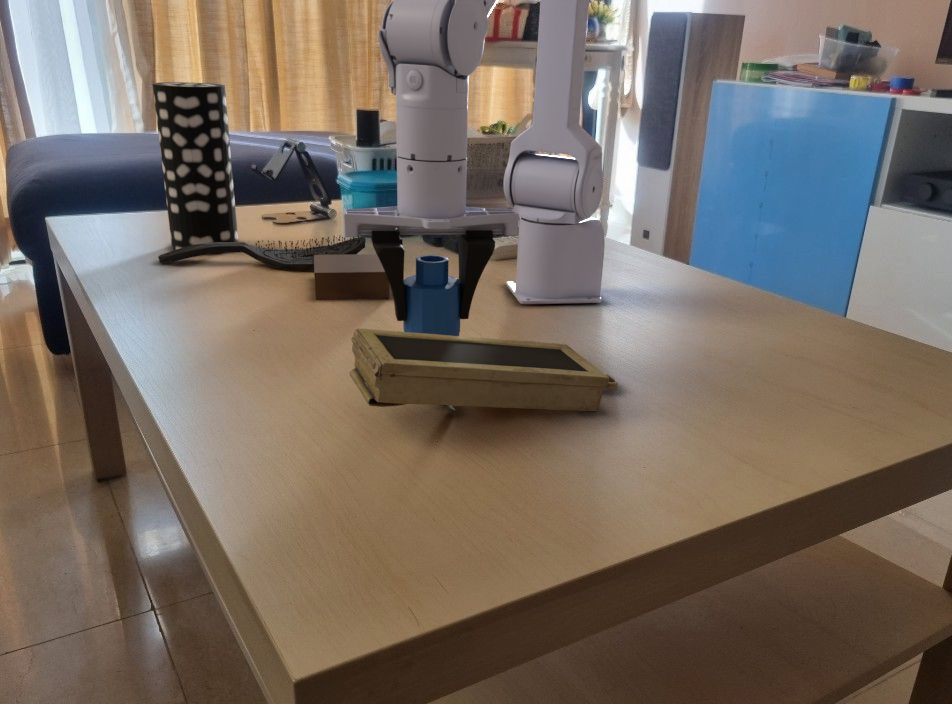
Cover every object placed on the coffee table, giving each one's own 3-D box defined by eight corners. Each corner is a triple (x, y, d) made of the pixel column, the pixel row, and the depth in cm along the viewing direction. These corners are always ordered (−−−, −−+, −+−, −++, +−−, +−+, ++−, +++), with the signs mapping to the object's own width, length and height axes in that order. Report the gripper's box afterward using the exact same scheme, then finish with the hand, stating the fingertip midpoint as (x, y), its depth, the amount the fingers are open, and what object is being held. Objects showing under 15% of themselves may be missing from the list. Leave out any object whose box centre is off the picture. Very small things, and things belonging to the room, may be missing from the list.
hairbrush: (163, 232, 104) (365, 224, 108) (168, 260, 106) (367, 252, 109) (147, 248, 97) (365, 239, 100) (153, 279, 98) (368, 268, 102)
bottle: (454, 326, 77) (455, 251, 74) (463, 344, 72) (465, 265, 70) (401, 327, 76) (400, 251, 73) (407, 346, 71) (406, 266, 69)
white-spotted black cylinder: (252, 246, 111) (239, 86, 103) (200, 257, 105) (182, 87, 97) (210, 236, 115) (194, 81, 107) (158, 246, 109) (137, 82, 101)
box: (341, 386, 65) (349, 325, 64) (584, 395, 76) (598, 343, 74) (369, 431, 59) (379, 365, 57) (632, 434, 69) (648, 378, 67)
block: (383, 278, 100) (383, 254, 98) (389, 298, 92) (389, 271, 91) (315, 279, 98) (313, 254, 97) (315, 299, 91) (314, 272, 90)
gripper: (343, 163, 63) (349, 334, 68) (530, 165, 66) (521, 328, 71) (340, 150, 69) (346, 308, 75) (510, 153, 72) (504, 304, 78)
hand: (431, 316), depth 73 cm, fingers closed on bottle, 5 cm apart
